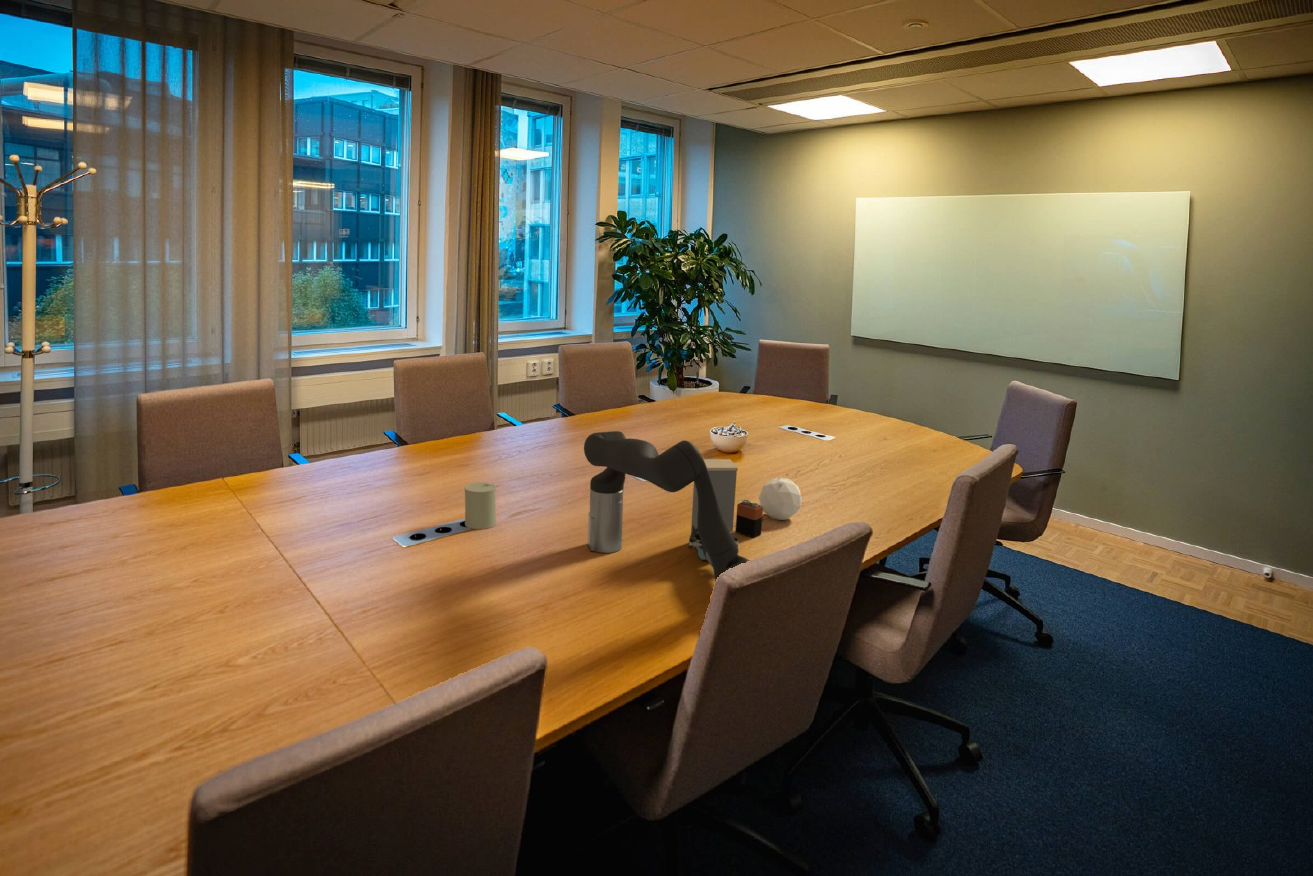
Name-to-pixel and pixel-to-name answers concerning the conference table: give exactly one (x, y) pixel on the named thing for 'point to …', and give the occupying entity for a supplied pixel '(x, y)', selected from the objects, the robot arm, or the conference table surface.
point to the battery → (749, 518)
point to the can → (480, 505)
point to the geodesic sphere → (780, 498)
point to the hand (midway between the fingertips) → (705, 530)
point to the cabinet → (719, 489)
